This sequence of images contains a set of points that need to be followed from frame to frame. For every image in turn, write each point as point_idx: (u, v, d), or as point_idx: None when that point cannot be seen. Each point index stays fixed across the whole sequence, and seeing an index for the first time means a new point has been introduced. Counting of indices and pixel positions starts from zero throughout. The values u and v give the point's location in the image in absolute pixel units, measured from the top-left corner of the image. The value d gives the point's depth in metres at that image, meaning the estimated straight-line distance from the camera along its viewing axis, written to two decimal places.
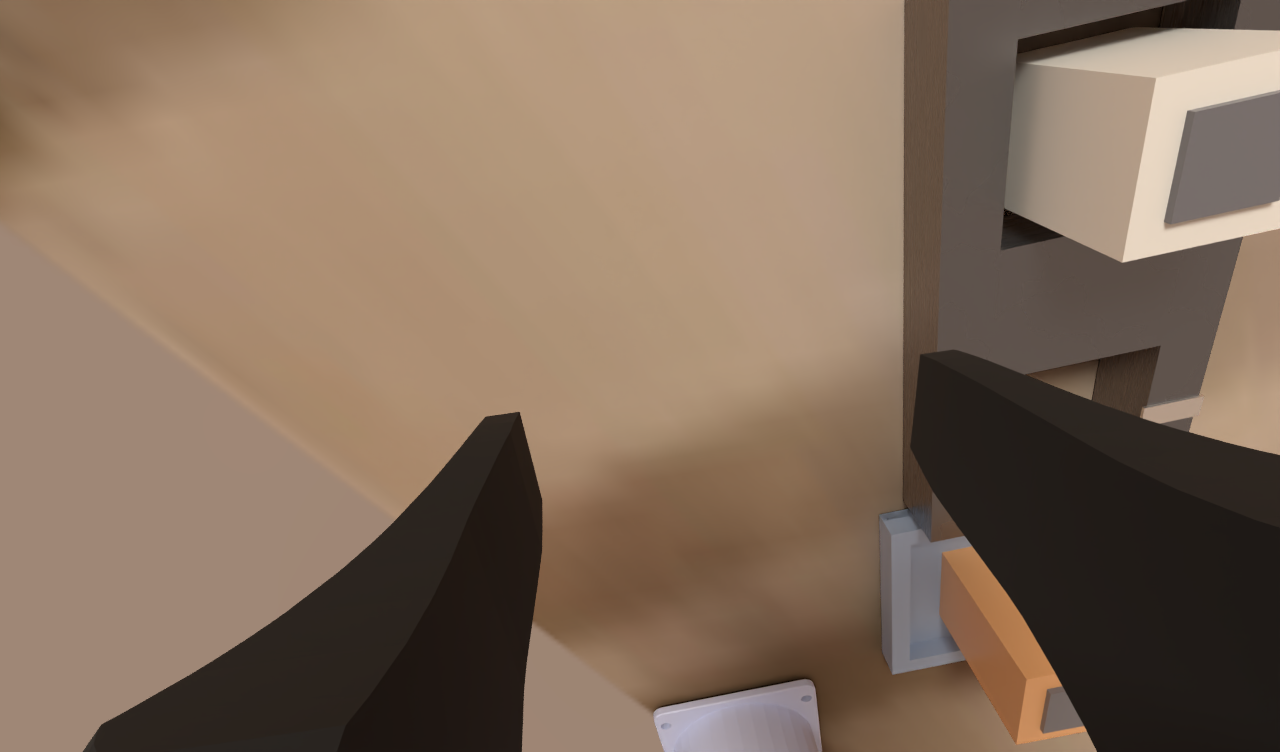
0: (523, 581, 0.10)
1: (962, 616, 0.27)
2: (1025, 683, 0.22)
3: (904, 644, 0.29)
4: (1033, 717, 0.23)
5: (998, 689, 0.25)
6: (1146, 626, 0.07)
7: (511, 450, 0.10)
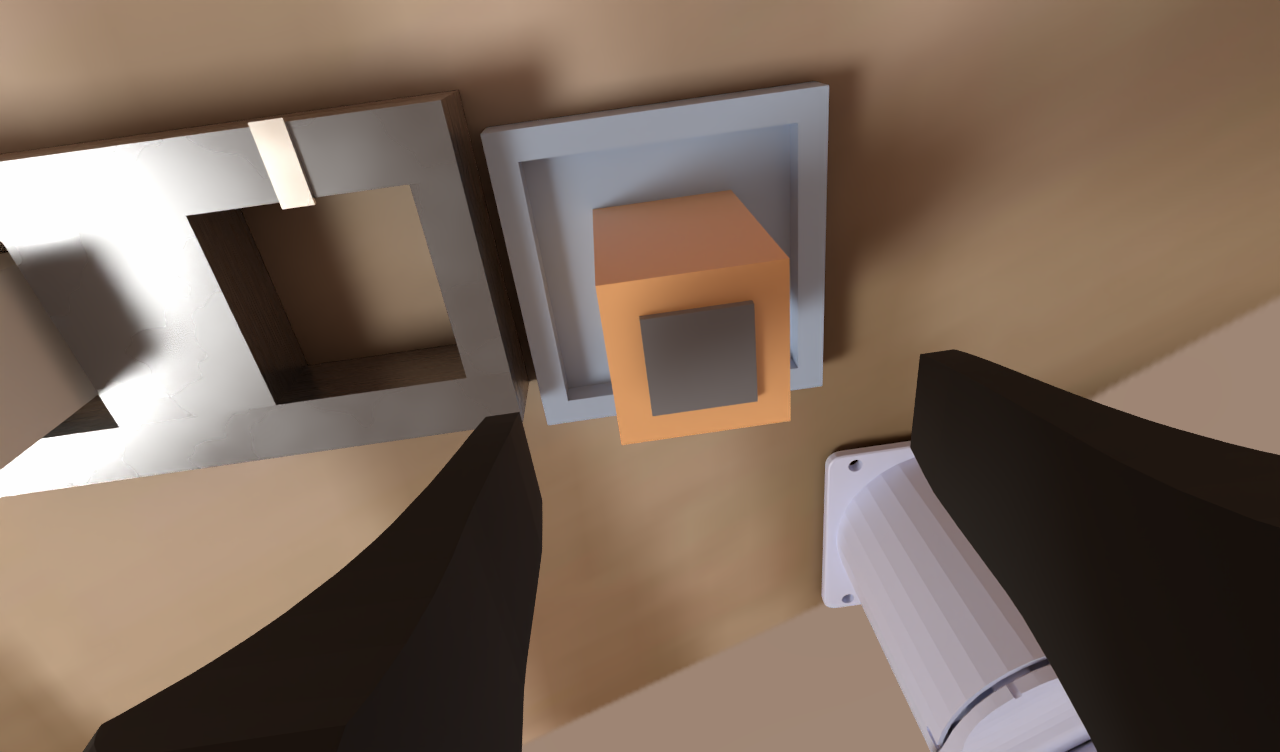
0: (523, 581, 0.10)
1: None
2: (632, 442, 0.15)
3: None
4: (721, 412, 0.15)
5: None
6: (1145, 626, 0.07)
7: (512, 450, 0.10)
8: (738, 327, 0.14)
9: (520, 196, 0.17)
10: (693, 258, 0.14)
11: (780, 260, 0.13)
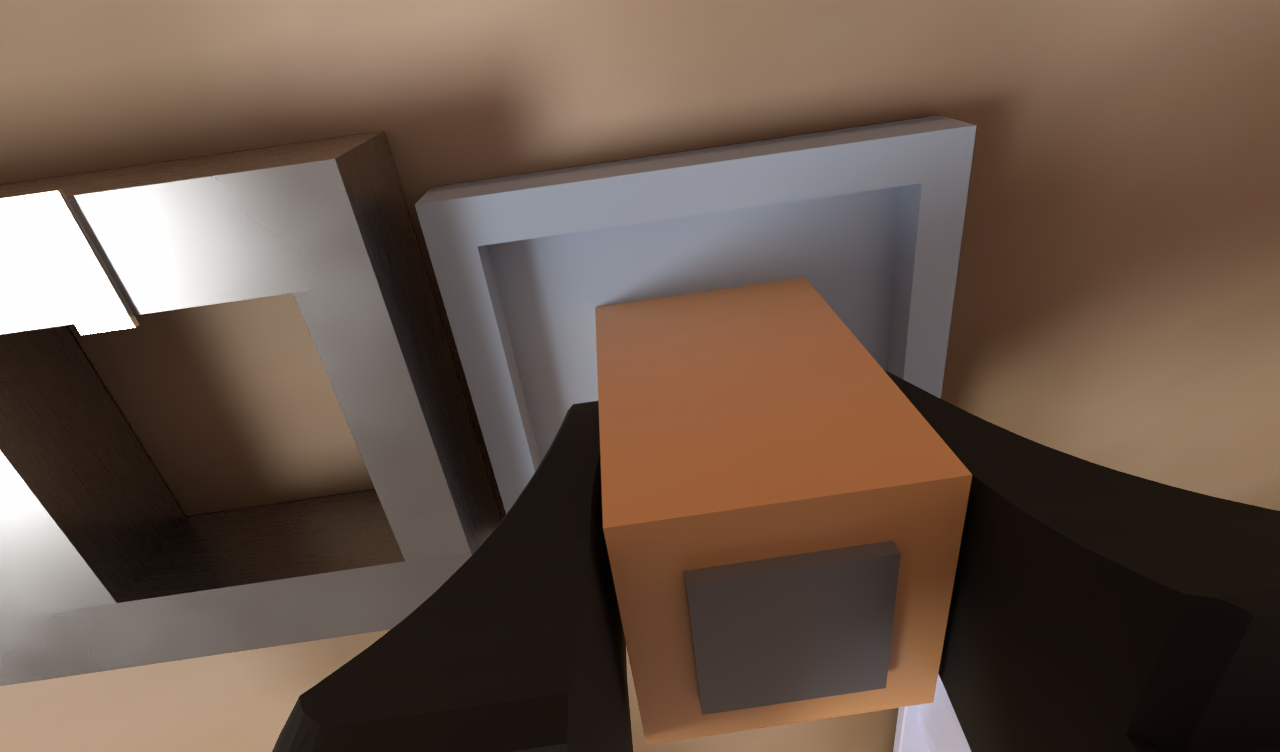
0: None
1: None
2: (664, 739, 0.09)
3: None
4: (818, 696, 0.09)
5: None
6: (1007, 646, 0.07)
7: None
8: (867, 588, 0.07)
9: (482, 296, 0.11)
10: (780, 456, 0.08)
11: (954, 477, 0.07)
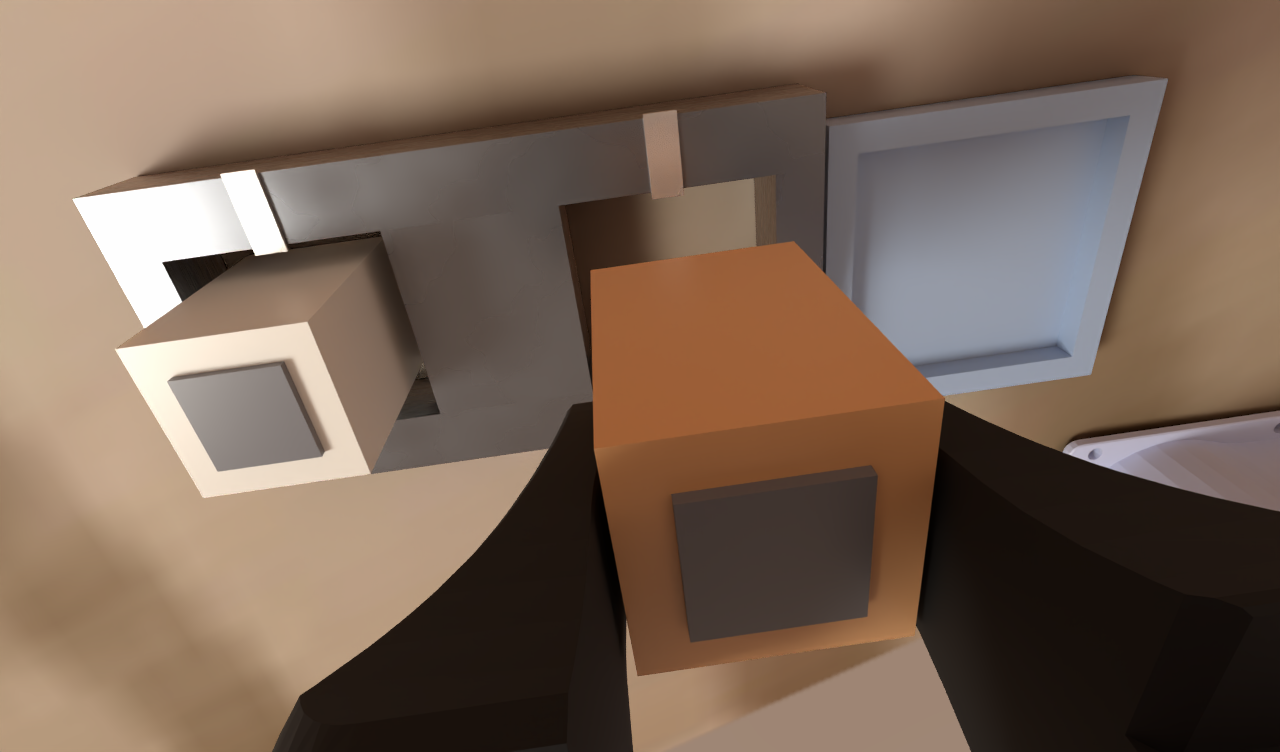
0: None
1: None
2: (654, 671, 0.09)
3: (1033, 368, 0.21)
4: (803, 628, 0.09)
5: None
6: (1007, 646, 0.07)
7: None
8: (847, 511, 0.08)
9: (851, 187, 0.18)
10: (764, 388, 0.08)
11: (928, 401, 0.07)
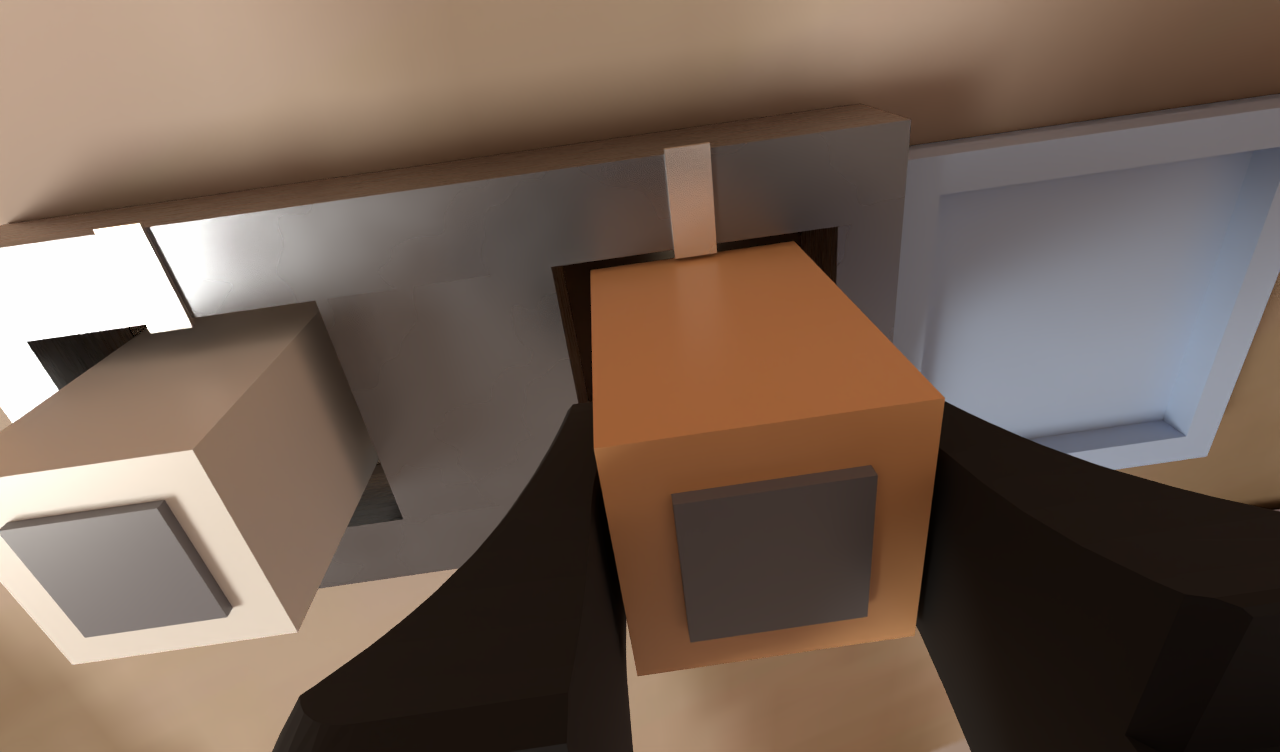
0: None
1: None
2: (654, 671, 0.09)
3: (1138, 450, 0.17)
4: (802, 627, 0.09)
5: None
6: (1007, 646, 0.07)
7: None
8: (847, 512, 0.08)
9: (929, 237, 0.14)
10: (764, 387, 0.08)
11: (928, 400, 0.07)
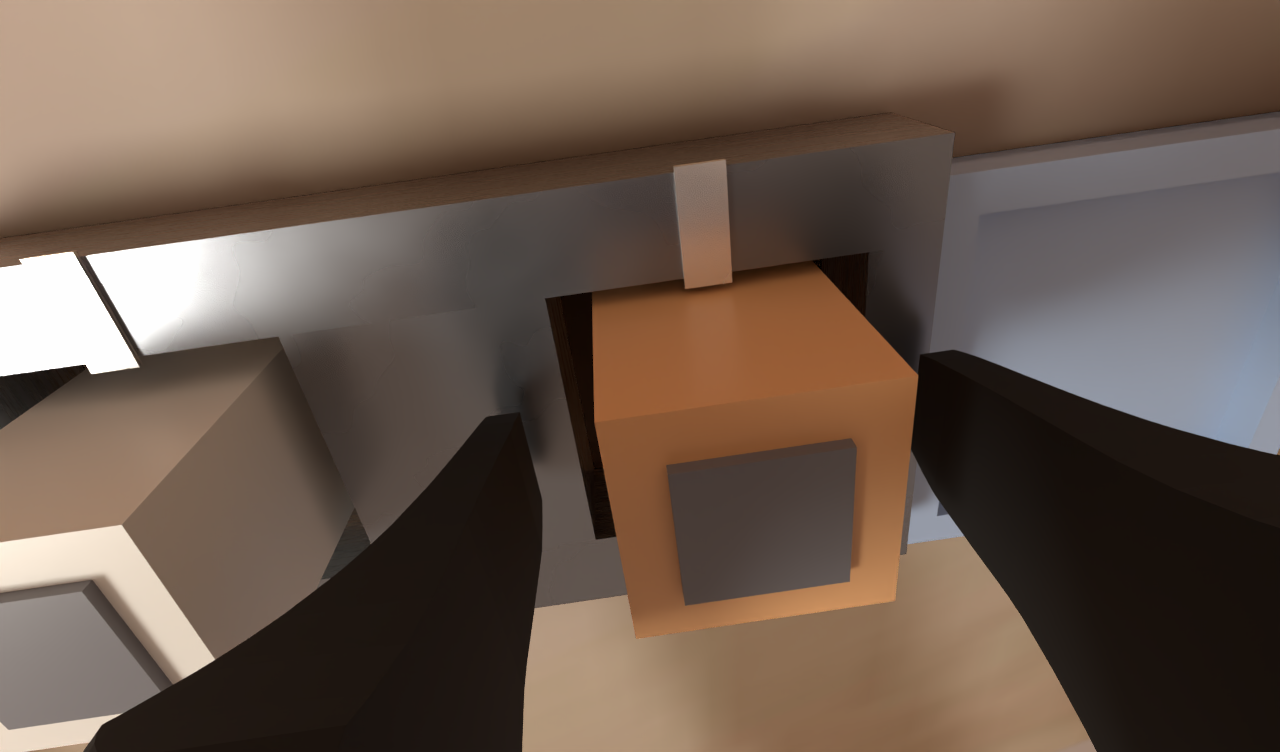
0: (523, 581, 0.10)
1: None
2: (652, 635, 0.10)
3: None
4: (790, 592, 0.10)
5: None
6: (1145, 626, 0.07)
7: (511, 450, 0.10)
8: (828, 481, 0.08)
9: (966, 260, 0.12)
10: (752, 367, 0.09)
11: (902, 378, 0.08)
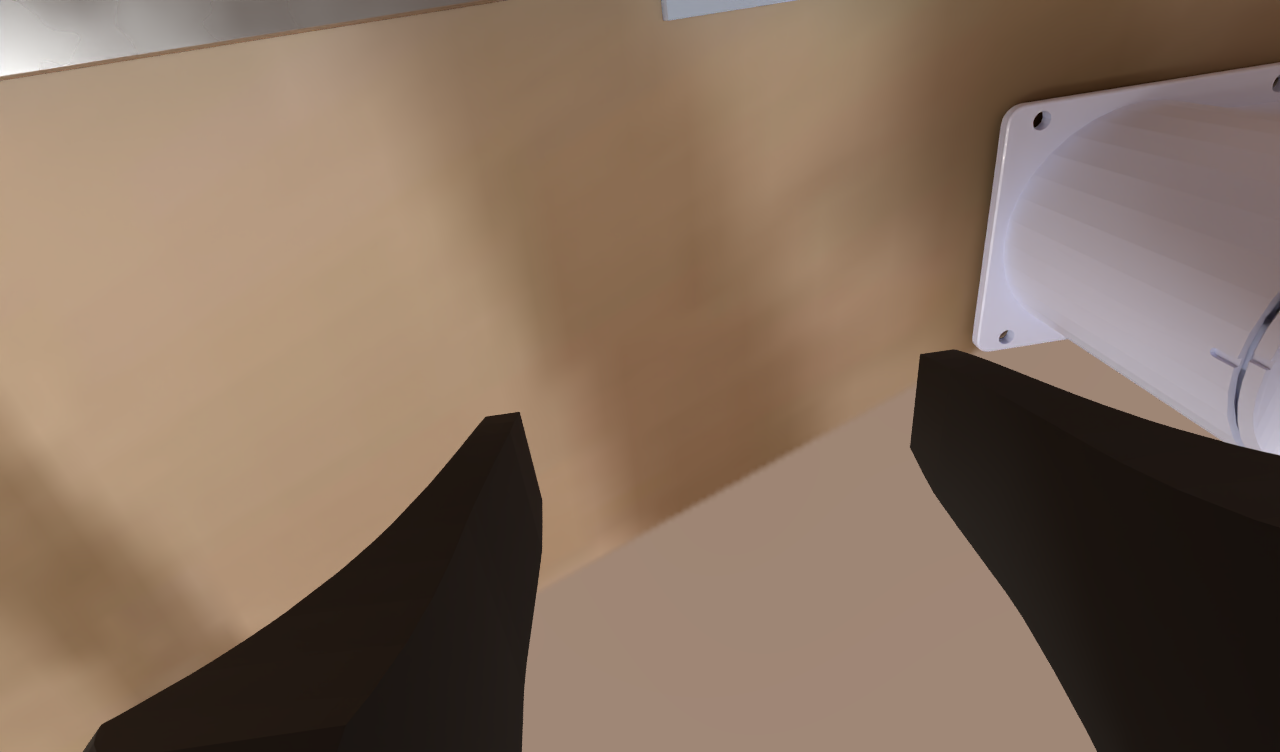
0: (522, 581, 0.10)
1: None
2: None
3: None
4: None
5: None
6: (1146, 626, 0.07)
7: (511, 450, 0.10)
8: None
9: None
10: None
11: None
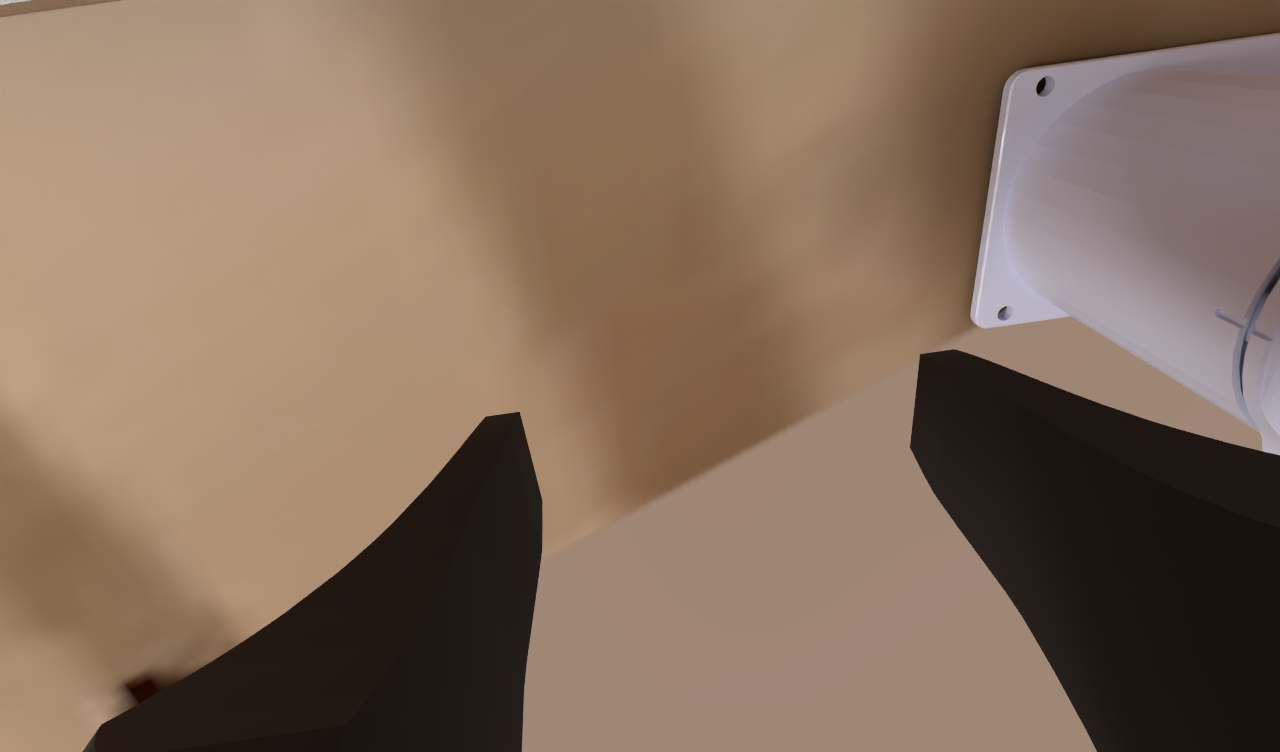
0: (523, 581, 0.10)
1: None
2: None
3: None
4: None
5: None
6: (1146, 626, 0.07)
7: (511, 450, 0.10)
8: None
9: None
10: None
11: None
